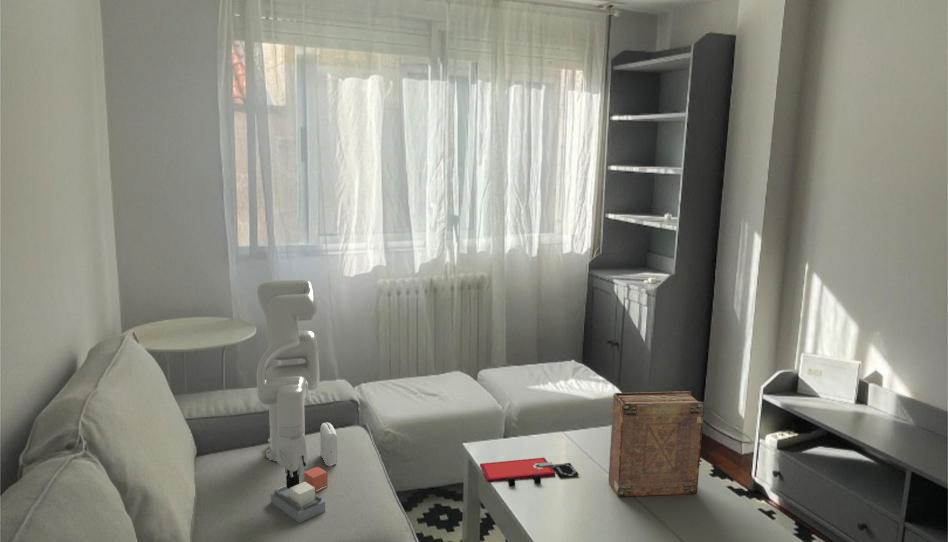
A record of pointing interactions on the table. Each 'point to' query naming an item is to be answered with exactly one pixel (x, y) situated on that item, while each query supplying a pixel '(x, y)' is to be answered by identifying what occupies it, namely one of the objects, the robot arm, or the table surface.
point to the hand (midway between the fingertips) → (293, 486)
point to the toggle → (302, 494)
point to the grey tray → (292, 509)
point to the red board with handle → (525, 470)
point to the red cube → (316, 478)
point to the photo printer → (328, 443)
